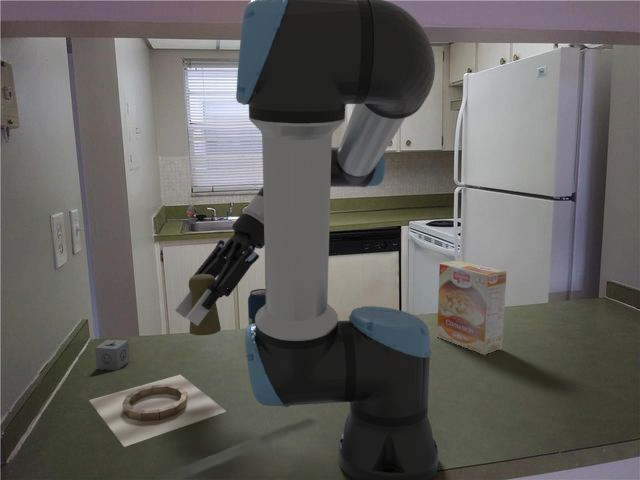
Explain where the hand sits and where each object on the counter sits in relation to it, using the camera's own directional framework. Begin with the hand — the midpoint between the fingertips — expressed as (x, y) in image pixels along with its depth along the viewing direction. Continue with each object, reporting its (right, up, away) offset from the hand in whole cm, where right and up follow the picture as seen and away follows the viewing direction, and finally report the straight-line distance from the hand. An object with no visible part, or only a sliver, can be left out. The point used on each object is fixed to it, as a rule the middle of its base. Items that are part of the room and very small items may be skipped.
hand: (185, 317), depth 98 cm
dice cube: (-21, -14, +18) cm, 30 cm away
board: (-4, -17, -4) cm, 18 cm away
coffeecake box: (+62, -11, +30) cm, 70 cm away
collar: (-4, -16, -4) cm, 17 cm away
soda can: (+11, -10, +35) cm, 38 cm away
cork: (+3, -3, +3) cm, 5 cm away
